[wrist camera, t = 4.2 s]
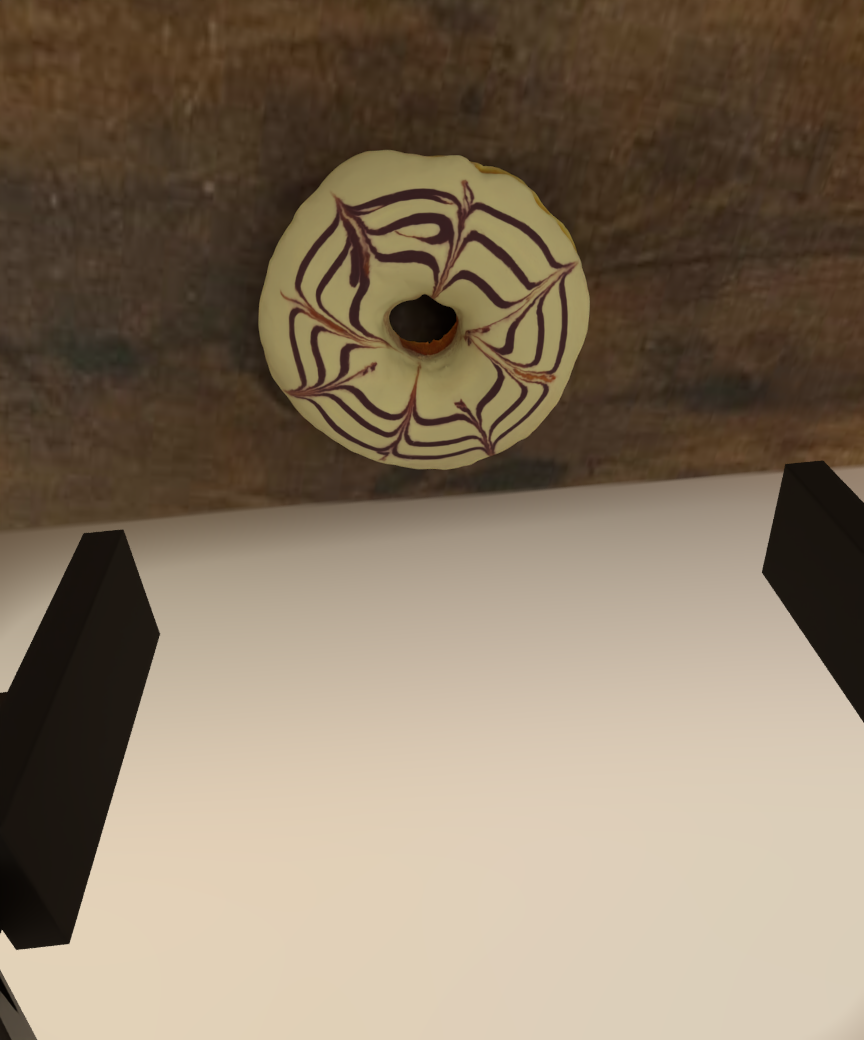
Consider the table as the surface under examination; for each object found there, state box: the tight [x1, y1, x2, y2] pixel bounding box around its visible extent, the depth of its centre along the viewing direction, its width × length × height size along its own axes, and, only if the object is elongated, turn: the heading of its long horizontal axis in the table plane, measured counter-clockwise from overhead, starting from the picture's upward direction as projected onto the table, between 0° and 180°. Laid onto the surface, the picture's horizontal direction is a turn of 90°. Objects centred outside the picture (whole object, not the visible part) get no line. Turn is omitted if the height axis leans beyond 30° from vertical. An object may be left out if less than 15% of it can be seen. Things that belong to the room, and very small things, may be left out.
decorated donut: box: [258, 150, 590, 470], centre depth 27 cm, size 10×11×4 cm
